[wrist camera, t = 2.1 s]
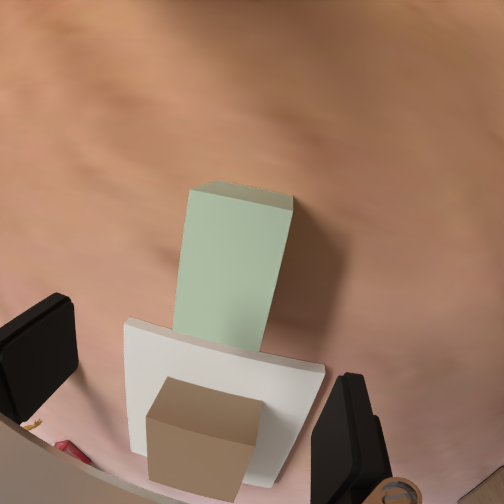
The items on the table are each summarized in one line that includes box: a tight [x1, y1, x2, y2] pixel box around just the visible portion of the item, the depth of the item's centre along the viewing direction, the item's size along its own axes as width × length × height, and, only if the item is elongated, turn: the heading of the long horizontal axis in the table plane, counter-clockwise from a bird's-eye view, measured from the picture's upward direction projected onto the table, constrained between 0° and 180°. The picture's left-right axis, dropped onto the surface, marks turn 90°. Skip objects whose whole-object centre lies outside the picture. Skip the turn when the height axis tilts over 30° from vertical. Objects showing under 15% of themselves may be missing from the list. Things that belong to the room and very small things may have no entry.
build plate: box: [124, 317, 325, 503], centre depth 24 cm, size 18×16×6 cm
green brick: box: [172, 180, 293, 353], centre depth 19 cm, size 8×5×6 cm, turn 169°
